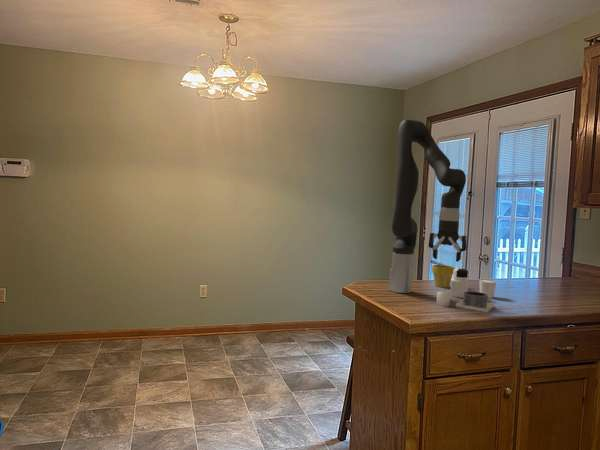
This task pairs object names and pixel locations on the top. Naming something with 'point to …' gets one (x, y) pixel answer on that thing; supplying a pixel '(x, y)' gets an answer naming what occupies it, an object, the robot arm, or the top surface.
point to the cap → (443, 298)
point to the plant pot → (442, 275)
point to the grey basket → (475, 301)
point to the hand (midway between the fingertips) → (446, 260)
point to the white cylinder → (487, 287)
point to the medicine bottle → (459, 283)
